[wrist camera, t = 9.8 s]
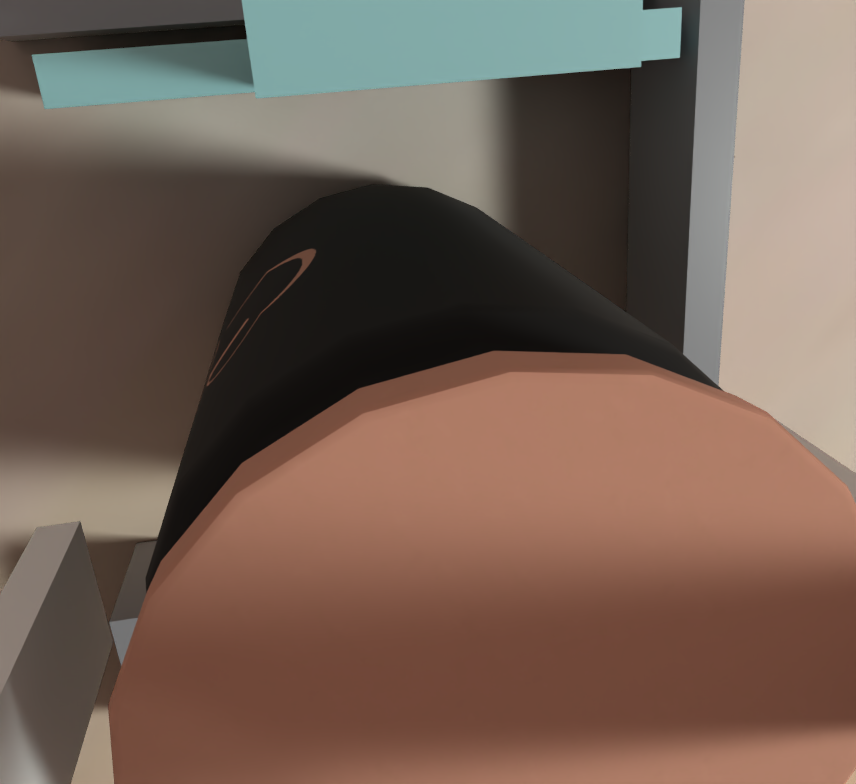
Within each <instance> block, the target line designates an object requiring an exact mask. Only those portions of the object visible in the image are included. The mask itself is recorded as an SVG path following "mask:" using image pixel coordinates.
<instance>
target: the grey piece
mask: <svg viewBox="0 0 856 784" xmlns="http://www.w3.org/2000/svg"><path fill="white" fill-rule="evenodd" d="M677 7H682V19H681V44H680V58H671V59H658V60H646V61H641V67H634V68H631V108H630V157H629V206H628V255H627V304H626V312H627V313H628V314H630V315H631V316H632V317H634V318H635V319H637V320H638V321H640V322H641V323H642V324H644V325H645V326H647V327H648V328H650V329H651V330H652V331H654V332H655V333H657V334H658V335H660V336H661V337H662V338H664V339H665V340H667V341H668V342H670V343H671V344H672V345H673V346H675V347H676V348H677V349H678V350H679V351H680V352H681V353H682V354H683V355H685V356H686V357H687V358H688V359H689V360H690V361H691V362H692V363H693V364H694V365H696V366H697V367H698V368H699V369H700V370H701V371H702V372H703V373H704V374H706V375H707V376H708V377H709V378H710V379H711V380H712V381H713V382H714V383H715V384H717V385H718V383H719V368H720V353H721V339H722V324H723V309H724V295H725V280H726V265H727V250H728V236H729V221H730V206H731V191H732V177H733V162H734V147H735V132H736V118H737V103H738V88H739V74H740V59H741V44H742V29H743V15H744V0H643V10H650V9H663V8H677ZM234 25H245V20H244V13H243V7H242V0H0V40H7V41H23V40H37V39H51V38H66V37H80V36H94V35H108V34H122V33H136V32H150V31H164V30H178V29H192V28H206V27H220V26H234ZM156 542H157V541H150V542H142V543H136V546H135V549H134V552H133V555H132V558H131V561H130V564H129V566H128V569H127V572H126V575H125V578H124V581H123V584H122V587H121V589H120V592H119V595H118V598H117V601H116V604H115V607H114V610H113V612H112V615H111V618H110V621H109V623H110V627H111V631H112V634H113V638H114V642H115V645H116V649H117V653H118V656H119V660H120V664H121V666H122V663H123V660H124V657H125V654H126V651H127V648H128V646H129V643H130V640H131V637H132V634H133V631H134V628H135V625H136V622H137V619H138V616H139V614H140V611H141V608H142V605H143V602H144V599H145V596H146V580H145V578H146V575H147V571H148V568H149V565H150V562H151V558H152V555H153V552H154V549H155V545H156Z"/></svg>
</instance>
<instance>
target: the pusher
mask: <svg viewBox="0 0 856 784" xmlns="http://www.w3.org/2000/svg"><path fill="white" fill-rule="evenodd" d="M242 7H243V13H244V20H245V27H246V34H247V39H240V40H226V41H212V42H199V43H185V44H171V45H157V46H144V47H130V48H116V49H103V50H89V51H75V52H62V53H48V54H34V55H32V59H33V63H34V67H35V71H36V75H37V79H38V84H39V88H40V92H41V96H42V100H43V104H44V108H45V109H52V108H64V107H77V106H89V105H102V104H114V103H126V102H139V101H151V100H163V99H176V98H188V97H201V96H213V95H225V94H238V93H250V92H255V96H256V98H267V97H279V96H292V95H304V94H316V93H328V92H341V91H353V90H365V89H377V88H389V87H402V86H414V85H426V84H438V83H451V82H463V81H475V80H487V79H500V78H512V77H524V76H536V75H549V74H561V73H573V72H585V71H598V70H610V69H622V68H634V67H641V61H646V60H658V59H671V58H680V44H681V19H682V7H677V8H663V9H650V10H643V0H242Z"/></svg>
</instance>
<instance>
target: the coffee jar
mask: <svg viewBox="0 0 856 784" xmlns="http://www.w3.org/2000/svg"><path fill="white" fill-rule="evenodd" d="M145 580H146V596H145V599H144V602H143V605H142V608H141V611H140V614H139V616H138V619H137V622H136V625H135V628H134V631H133V634H132V637H131V640H130V643H129V646H128V648H127V651H126V654H125V657H124V660H123V663H122V666H121V669H120V672H119V675H118V678H117V680H116V683H115V686H114V689H113V692H112V695H111V698H110V701H109V704H108V711H109V723H110V735H111V748H112V760H113V773H114V784H845V783H846V782H847V780H848V779H849V778H850V776H851V775H852V773H853V772H854V771H855V769H856V504H855V501H854V499H853V497H852V494H851V492H850V490H849V488H848V486H847V485H846V484H845V483H844V482H843V481H842V480H840V479H839V478H838V477H837V476H836V475H835V474H834V473H833V472H832V471H831V470H830V469H828V468H827V467H826V466H825V465H824V464H823V463H822V462H821V461H820V460H819V459H818V458H816V457H815V456H814V455H813V454H812V453H811V452H810V451H809V450H808V449H807V448H806V447H804V446H803V445H802V444H801V443H800V442H799V441H798V440H797V439H796V438H795V437H794V436H793V435H791V434H790V433H789V432H788V431H787V430H786V429H785V428H784V427H783V426H782V425H781V424H779V423H778V422H777V421H776V420H775V419H774V418H773V417H772V416H771V415H770V414H769V413H767V412H766V411H764V410H762V409H760V408H758V407H756V406H754V405H752V404H750V403H748V402H747V401H745V400H743V399H741V398H739V397H737V396H735V395H732V394H730V393H727V392H724V391H723V390H722V389H721V388H720V387H719V386H718V385H717V384H715V383H714V382H713V381H712V380H711V379H710V378H709V377H708V376H707V375H706V374H704V373H703V372H702V371H701V370H700V369H699V368H698V367H697V366H696V365H694V364H693V363H692V362H691V361H690V360H689V359H688V358H687V357H686V356H685V355H683V354H682V353H681V352H680V351H679V350H678V349H677V348H676V347H675V346H673V345H672V344H671V343H670V342H668V341H667V340H665V339H664V338H662V337H661V336H660V335H658V334H657V333H655V332H654V331H652V330H651V329H650V328H648V327H647V326H645V325H644V324H642V323H641V322H640V321H638V320H637V319H635V318H634V317H632V316H631V315H630V314H628V313H627V312H625V311H624V310H622V309H621V308H620V307H618V306H617V305H615V304H614V303H612V302H611V301H610V300H608V299H607V298H605V297H604V296H602V295H601V294H599V293H598V292H597V291H595V290H594V289H592V288H591V287H589V286H588V285H587V284H585V283H584V282H582V281H581V280H579V279H578V278H577V277H575V276H574V275H572V274H571V273H569V272H568V271H567V270H565V269H564V268H562V267H561V266H559V265H558V264H557V263H555V262H554V261H552V260H551V259H549V258H548V257H547V256H545V255H544V254H542V253H541V252H539V251H538V250H537V249H535V248H534V247H532V246H531V245H529V244H528V243H526V242H525V241H524V240H522V239H521V238H519V237H518V236H516V235H515V234H514V233H512V232H511V231H509V230H508V229H506V228H505V227H504V226H502V225H501V224H499V223H498V222H496V221H495V220H494V219H492V218H491V217H489V216H488V215H486V214H485V213H484V212H482V211H481V210H479V209H478V208H476V207H474V206H471V205H469V204H466V203H464V202H461V201H459V200H456V199H454V198H452V197H449V196H447V195H444V194H442V193H439V192H437V191H435V190H432V189H430V188H424V187H408V186H392V185H376V184H373V185H369V186H365V187H362V188H358V189H354V190H350V191H347V192H343V193H339V194H335V195H332V196H328V197H324V198H320V199H319V200H317V201H316V202H314V203H312V204H311V205H309V206H308V207H306V208H305V209H303V210H302V211H300V212H299V213H297V214H296V215H294V216H293V217H291V218H290V219H288V220H287V221H285V222H284V223H282V224H281V225H279V226H278V227H276V228H275V229H273V231H272V232H271V233H270V235H269V236H268V237H267V238H266V240H265V241H264V242H263V244H262V245H261V246H260V248H259V249H258V250H257V251H256V253H255V254H254V255H253V257H252V258H251V259H250V260H249V262H248V263H247V264H246V266H245V267H244V268H243V269H242V271H241V272H240V275H239V278H238V281H237V284H236V287H235V290H234V293H233V296H232V299H231V302H230V305H229V308H228V311H227V314H226V317H225V320H224V323H223V326H222V330H221V333H220V336H219V339H218V343H217V346H216V349H215V352H214V356H213V359H212V362H211V365H210V369H209V372H208V375H207V379H206V382H205V385H204V388H203V392H202V395H201V398H200V401H199V405H198V408H197V411H196V414H195V418H194V421H193V424H192V428H191V431H190V434H189V437H188V441H187V444H186V447H185V450H184V454H183V457H182V460H181V464H180V467H179V470H178V473H177V477H176V480H175V483H174V486H173V490H172V493H171V496H170V499H169V503H168V506H167V509H166V513H165V516H164V519H163V522H162V526H161V529H160V532H159V535H158V539H157V542H156V545H155V549H154V552H153V555H152V558H151V562H150V565H149V568H148V571H147V575H146V578H145Z"/></svg>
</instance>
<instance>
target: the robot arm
mask: <svg viewBox="0 0 856 784" xmlns="http://www.w3.org/2000/svg"><path fill="white" fill-rule="evenodd" d="M775 420H776V419H775ZM776 421H777V420H776ZM777 422H778V423H779V424H781V425H782V426H783V427H784V428H785V429H786V430H787V431H788V432H789V433H790V434H791V435H793V436H794V437H795V438H796V439H797V440H798V441H799V442H800V443H801V444H802V445H803V446H804V447H806V448H807V449H808V450H809V451H810V452H811V453H812V454H813V455H814V456H815V457H816V458H818V459H819V460H820V461H821V462H822V463H823V464H824V465H825V466H826V467H827V468H828V469H830V470H831V471H832V472H833V473H834V474H835V475H836V476H837V477H838V478H839V479H840V480H842V481H843V482H844V483H845V484H846V485H847V486H848V488H849V490H850V492H851V494H852V497H853V499H854V501H855V504H856V473H854V472H853V471H851V470H850V469H848V468H847V467H846V466H844V465H843V464H841V463H840V462H838V461H837V460H835V459H834V458H832V457H831V456H829V455H828V454H826V453H825V452H823V451H822V450H820V449H819V448H817V447H816V446H814V445H813V444H811V443H810V442H808V441H807V440H805V439H804V438H802V437H801V436H799V435H798V434H796V433H795V432H793V431H792V430H790V429H789V428H788V427H786V426H785V425H783V424H782V423H780V422H779V421H777ZM112 644H113V639H112V636H111V632H110V628H109V625H108V621H107V617H106V614H105V610H104V606H103V603H102V599H101V595H100V592H99V588H98V584H97V581H96V577H95V574H94V570H93V566H92V563H91V559H90V555H89V552H88V548H87V544H86V541H85V537H84V533H83V530H82V526H81V522H80V521H78V522H71V523H64V524H58V525H51V526H44V527H37V528H36V530H35V532H34V533H33V535H32V537H31V539H30V541H29V543H28V544H27V546H26V548H25V550H24V552H23V553H22V555H21V557H20V559H19V561H18V562H17V564H16V566H15V568H14V570H13V572H12V573H11V575H10V577H9V579H8V581H7V582H6V584H5V586H4V588H3V590H2V591H1V593H0V784H71V780H72V777H73V774H74V770H75V767H76V764H77V760H78V757H79V754H80V750H81V747H82V744H83V741H84V737H85V734H86V731H87V727H88V724H89V721H90V717H91V714H92V711H93V707H94V704H95V701H96V697H97V694H98V691H99V687H100V684H101V681H102V677H103V674H104V671H105V667H106V664H107V661H108V657H109V654H110V651H111V647H112Z"/></svg>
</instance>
